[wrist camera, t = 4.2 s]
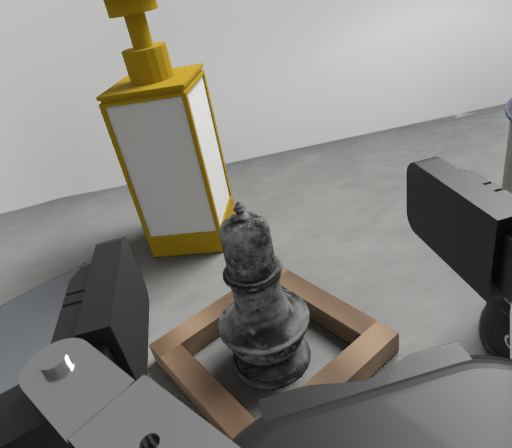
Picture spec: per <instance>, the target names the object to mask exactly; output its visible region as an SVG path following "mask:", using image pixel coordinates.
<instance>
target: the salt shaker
mask: <svg viewBox="0 0 512 448" xmlns="http://www.w3.org/2000/svg"><path fill="white" fill-rule="evenodd" d="M245 208H246V207H245V206H243V205H242V204H241V203H240V202H237V203H236V205H235V207H234V208H233V211H234V212H236V213H235V214H233V215H231V216H230V217H228V218H227V219H225V220H224V222H223V223H222V225H221V227H220V230H219V236H220V241H221V245H222V249H223V253H224V257H225V261H226V265H227V266H226V267H225V269H224V271H223V280H224V281H225V283H226V285H228V286H229V287H230V288H231V289H232V293H233V297H234V299H233V300H232V301H231V302H230V303H229V304H228V305H227V306H226V307H225V308H224V310H223V311H222V313H221V314H220V317H219V321H218V333H219V335H220V337H221V339H222V341H223V342H224V343H225V344H226V345H227V346H228V347H229V348H230V349H231V350H232V351H233V352H234V356H233V367H234V370H235V372H236V374H237V376H238V377H239V378H240V379H241V380H242V381H243V382H244V383H245V384H247V385H249V386H251V387H254V388H258V389H262V390H267V389H277V388H282V387H285V386H287V385H289V384H291V383H293V382H295V381H296V380H297V379H298V378H300V377H301V376H302V375H303V373H304V372H305V371H306V369H307V368H308V365H309V362H310V348H309V345H308V342H307V341H306V340H305V338H304V334H305V332H306V329H307V327H308V324H309V315H310V313H309V309H308V307H307V304H306V303H305V302H304V300H303V299H302V298H301V297H300V296H298V295H297V294H295V293H294V292H292V291H289V290H286V289H283V288H282V287H281V282H280V277H281V275H282V273H283V265H282V262H281V260H280V259H279V258H278V257H276V256H274V250H273V245H272V239H271V234H270V228H269V225H268V223H267V221H266V220H265V219H264V218H263V217H262V216H261V215H259V214H257V213H253V212H244V210H245Z"/></svg>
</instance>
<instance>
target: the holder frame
mask: <svg viewBox="0 0 512 448" xmlns="http://www.w3.org/2000/svg"><path fill="white" fill-rule="evenodd" d="M280 282H281V287H282V288H283V289H286V290H289V291H292V292H294V293H295V294H297V295H298V296H300V297H301V298H302V299H303V300H304V302H305V303H306V304H307V307H308V309H309V313H310V315H309V318H311V319H312V320H314V321H315V322H317V323H318V324H320V325H321V326H323V327H325V328H326V329H328V330H329V331H331V332H332V333H334V334H335V335H337V336H338V337H340V338H341V339H343V340H345V341H346V342H348V343H349V344H350V345H349V346H348V347H347V348H346V349H345V350H343V351H342V352H341V353H340V354H339V355H338V356H337V357H335V358H334V359H333V360H332V361H331V362H330V363H329V364H327V365H326V366H325V367H324V368H323V369H322V370H321V371H319V372H318V373H317V374H316V375H315V376H314V377H313V378H311V379H310V380H309V381H308V382H307V383H306V384H305V385H303V386H307V385H316V384H330V383H345V382H359V381H365V380H368V379H370V378H371V377H372V376H373V375H374V374H375V373H376V372H377V371H378V370H379V369H380V368H381V367H382V366H383V365H384V364H385V363H386V362H387V361H388V360H389V359H390V358H391V357H392V356H394V355H395V354H396V353H397V352H398V351H399V333H398V332H396V331H394V330H393V329H391V328H389V327H387V326H386V325H384V324H382V323H380V322H379V321H377V320H375V319H373V318H372V317H370V316H368V315H366V314H364V313H363V312H361V311H359V310H357V309H356V308H354V307H352V306H350V305H349V304H347V303H345V302H343V301H342V300H340V299H338V298H336V297H334V296H333V295H331V294H329V293H327V292H326V291H324V290H322V289H320V288H319V287H317V286H315V285H313V284H312V283H310V282H308V281H306V280H305V279H303V278H301V277H299V276H297V275H296V274H294V273H292V272H290V271H289V270H287V269H285V268H283V273H282V275H281V277H280ZM233 299H234V297H233V293H232V291H231V292H229V293H228V294H226V295H225V296H223V297H222V298H220V299H219V300H217V301H216V302H214V303H213V304H211V305H210V306H208V307H207V308H205V309H203V310H202V311H200V312H199V313H197V314H196V315H194V316H193V317H191V318H190V319H188V320H187V321H185V322H184V323H182V324H181V325H179V326H178V327H176V328H174V329H173V330H171V331H170V332H168V333H167V334H165V335H164V336H162V337H161V338H159V339H158V340H156V341H155V342H153V343H152V344H150V345H149V346H150V349H151V351H152V353H153V356H154V358H155V360H156V362H157V363H158V364H159V365H160V366H161V368H162V369H163V370H164V371H165V372H166V373H167V375H168V376H169V377H170V378H171V379H172V380H173V382H174V383H175V384H176V385H177V386H178V387H179V388H180V390H181V391H182V392H183V393H184V394H185V395H186V397H187V398H188V399H189V400H190V401H191V402H192V403H193V405H194V406H195V407H196V408H197V409H198V410H199V412H200V413H201V414H202V415H203V416H204V417H205V419H206V420H207V421H208V422H209V423H210V424H211V425H212V426H213V427H215V428H216V429H217V430H219V431H220V432H221V433H222V434H224V435H225V436H226V437H228V438H229V439H230V440H232V439H233V438H234V437H235V436H236V435H237V434H239V433H240V432H241V431H242V430H243V429H244V428H245V427H247V426H248V425H249V424H251V423H252V422H254V421H255V420H256V419H255V418H254V417H253V416H252V415H251V414H250V413H249V412H248V411H247V410H246V409H245V408H244V407H243V406H242V405H241V404H240V403H239V402H238V401H237V400H236V399H235V398H234V397H233V396H232V395H231V394H230V393H229V392H228V391H227V390H226V389H225V388H224V387H223V386H222V385H221V384H220V383H219V382H218V381H217V380H216V379H215V378H214V377H213V376H212V375H211V374H210V373H209V372H208V371H207V370H206V369H205V368H204V367H203V366H202V365H201V364H200V363H199V362H198V361H197V360H196V359H195V358H194V357H193V356H192V355H194V354H195V353H196V352H198V351H199V350H201V349H202V348H204V347H205V346H206V345H208V344H209V343H211V342H212V341H213V340H215V339H216V338H218V337H219V336H220V335H219V333H218V321H219V317H220V314H221V313H222V311H223V310H224V308H225V307H226V306H227V305H228V304H229V303H230V302H231V301H232V300H233ZM303 386H302V387H303Z"/></svg>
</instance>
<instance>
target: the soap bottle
mask: <svg viewBox="0 0 512 448" xmlns="http://www.w3.org/2000/svg"><path fill="white" fill-rule="evenodd" d="M104 3H105V6H106V9H107V12H108V15H109V18H116V17H122V16H124V18H125V21H126V24H127V28H128V31H129V34H130V38H131V41H132V45H133V48H129V49H127V50H124V51H123V52H122V55H123V58H124V62H125V65H126V68H127V71H128V74H129V75H128V76H126V77H125V78H123V79H122V80H121V81H119V82H118V83H116V84H115V85H114V86H112V87H111V88H109V89H108V90H107V91H105V92H104V93H102V94H101V95H99V96H98V97H97V98H96V99H97V101H101V104H100V105H99V107H100V110H101V113H102V115H103V118H104V121H105V124H106V126H107V129H108V132H109V135H110V138H111V140H112V143H113V146H114V149H115V151H116V154H117V157H118V160H119V163H120V165H121V168H122V171H123V174H124V177H125V179H126V182H127V185H128V188H129V190H130V193H131V196H132V199H133V202H134V204H135V207H136V210H137V213H138V215H139V218H140V221H141V224H142V227H143V229H144V232H145V235H146V238H147V241H148V243H149V246H150V249H151V252H152V254H153V257H164V256H177V255H189V254H201V253H213V252H223V249H222V245H221V241H220V236H219V230H220V227H221V225H222V223H223V222H224V220H225V219H227V218H228V217H230V216H231V215H233V214H235V213H236V212H234V211H233V208H234V203H233V198H232V194H231V189H230V185H229V180H228V176H227V171H226V167H225V162H224V158H223V154H222V149H221V145H220V140H219V136H218V131H217V127H216V122H215V118H214V113H213V109H212V104H211V100H210V95H209V91H208V86H207V82H206V77H205V73H204V71H202V70H201V68H202V67H203V64H196V65H190V66H183V67H178V68H172V66H171V62H170V59H169V55H168V51H167V47H166V44H165V42H157V43H153V42H152V39H151V35H150V31H149V28H148V25H147V21H146V17H145V13H144V12H146V11H150V10H154V9H157V3H156V0H104Z"/></svg>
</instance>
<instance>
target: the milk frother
mask: <svg viewBox="0 0 512 448" xmlns="http://www.w3.org/2000/svg"><path fill="white" fill-rule="evenodd" d="M505 113H506V116H507V117H508V119H509V120H510V126H509V134H508V142H507V151H506V159H505V167H504V175H503V183H502V190H507V191H508V192H510V193H512V98H511V99H510V100H509V101H508V102H507V104H506V106H505ZM511 303H512V300H511V299H510V298H508V297H507V298H503V299H500V300H496V301H493V302H489V303H487V304H486V306H485V307H484V309H483V311H482V313H481V317H480V332H481V336H482V339H483V342H484V343H485V345H486V347H487V349H488V350H489V351H490V353H491V354H492V355H493V356H496V357H503V358H508V359H510V309H511Z"/></svg>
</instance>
